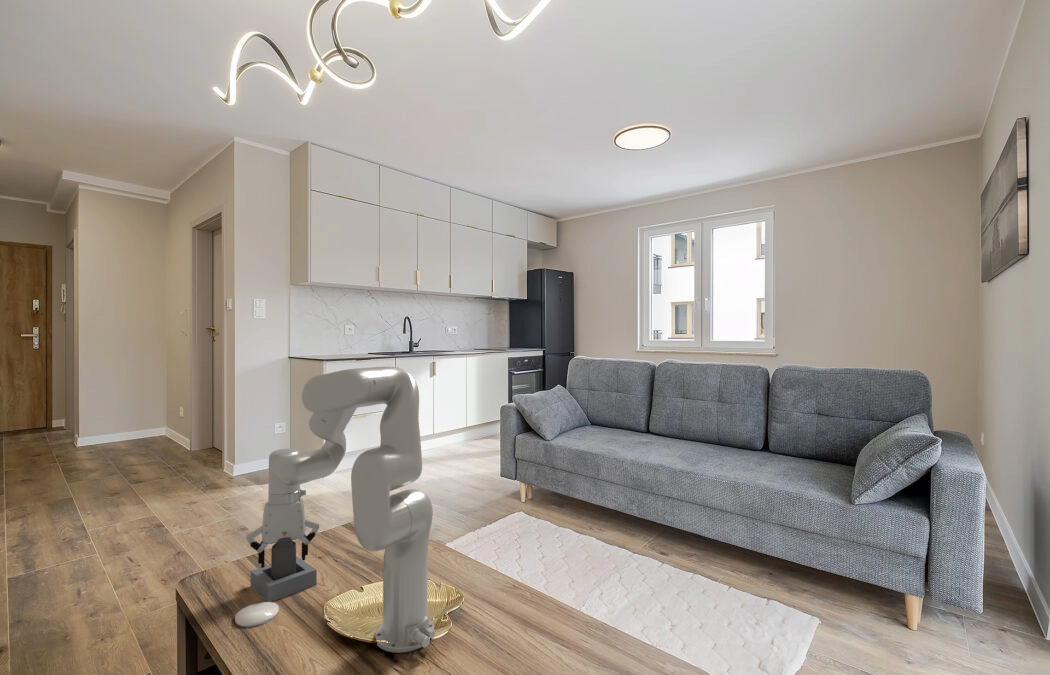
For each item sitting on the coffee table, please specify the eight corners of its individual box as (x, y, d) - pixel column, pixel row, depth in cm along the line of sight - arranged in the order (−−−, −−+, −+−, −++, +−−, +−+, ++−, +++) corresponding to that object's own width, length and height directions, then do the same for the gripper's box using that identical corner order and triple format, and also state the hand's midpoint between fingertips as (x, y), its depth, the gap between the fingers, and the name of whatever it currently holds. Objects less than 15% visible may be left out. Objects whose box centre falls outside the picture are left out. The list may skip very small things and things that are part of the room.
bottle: (289, 591, 127) (289, 533, 127) (266, 590, 127) (267, 532, 127) (299, 580, 132) (300, 524, 132) (278, 579, 132) (278, 524, 133)
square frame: (316, 584, 130) (316, 569, 130) (268, 602, 121) (268, 586, 121) (296, 570, 138) (296, 556, 138) (250, 586, 129) (250, 570, 129)
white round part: (285, 615, 116) (285, 611, 116) (243, 631, 109) (243, 628, 109) (269, 601, 122) (269, 597, 122) (229, 616, 115) (229, 612, 115)
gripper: (318, 488, 137) (317, 550, 137) (247, 497, 129) (246, 562, 129) (321, 496, 130) (320, 561, 130) (246, 506, 122) (245, 575, 122)
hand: (283, 561), depth 130 cm, fingers open, 9 cm apart
